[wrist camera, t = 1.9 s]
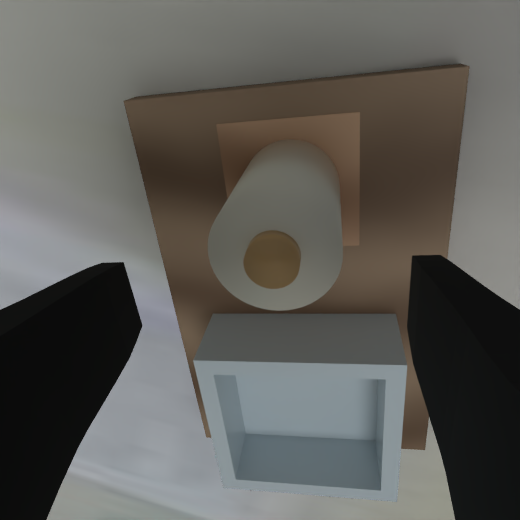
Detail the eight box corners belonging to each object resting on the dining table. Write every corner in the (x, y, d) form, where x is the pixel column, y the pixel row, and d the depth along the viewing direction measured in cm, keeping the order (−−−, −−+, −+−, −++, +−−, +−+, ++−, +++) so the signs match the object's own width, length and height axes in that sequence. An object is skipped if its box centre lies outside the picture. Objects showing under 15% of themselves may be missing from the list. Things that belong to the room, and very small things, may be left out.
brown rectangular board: (135, 96, 18) (123, 101, 17) (460, 63, 16) (470, 66, 14) (211, 421, 27) (206, 438, 26) (421, 432, 25) (425, 450, 24)
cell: (238, 143, 17) (190, 201, 11) (338, 135, 16) (342, 193, 10) (249, 232, 19) (214, 321, 13) (340, 229, 18) (344, 322, 12)
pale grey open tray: (212, 313, 21) (192, 360, 18) (395, 313, 20) (407, 365, 17) (236, 433, 26) (223, 487, 23) (388, 442, 24) (397, 501, 21)
